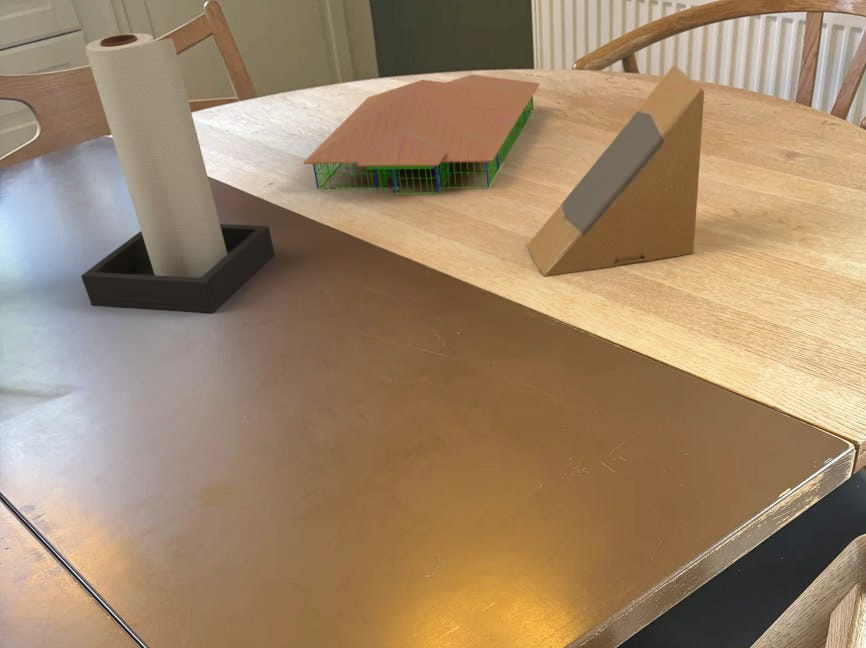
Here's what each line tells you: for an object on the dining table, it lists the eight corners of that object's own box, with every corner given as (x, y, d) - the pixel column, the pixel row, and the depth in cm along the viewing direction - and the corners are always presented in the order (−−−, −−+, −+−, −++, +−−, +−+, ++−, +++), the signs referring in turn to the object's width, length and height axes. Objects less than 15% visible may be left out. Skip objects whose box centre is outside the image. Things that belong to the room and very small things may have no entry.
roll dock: (91, 305, 103) (80, 275, 100) (161, 249, 112) (153, 221, 110) (213, 313, 99) (204, 282, 97) (275, 254, 108) (268, 225, 106)
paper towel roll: (144, 275, 106) (71, 43, 91) (192, 255, 109) (129, 27, 94) (182, 291, 102) (113, 52, 87) (231, 270, 105) (172, 35, 90)
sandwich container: (524, 244, 105) (516, 85, 95) (667, 222, 106) (674, 62, 96) (542, 277, 99) (535, 110, 89) (694, 254, 100) (705, 86, 90)
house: (300, 199, 120) (286, 125, 115) (381, 113, 143) (372, 48, 138) (488, 199, 115) (483, 122, 110) (540, 109, 138) (537, 42, 133)
